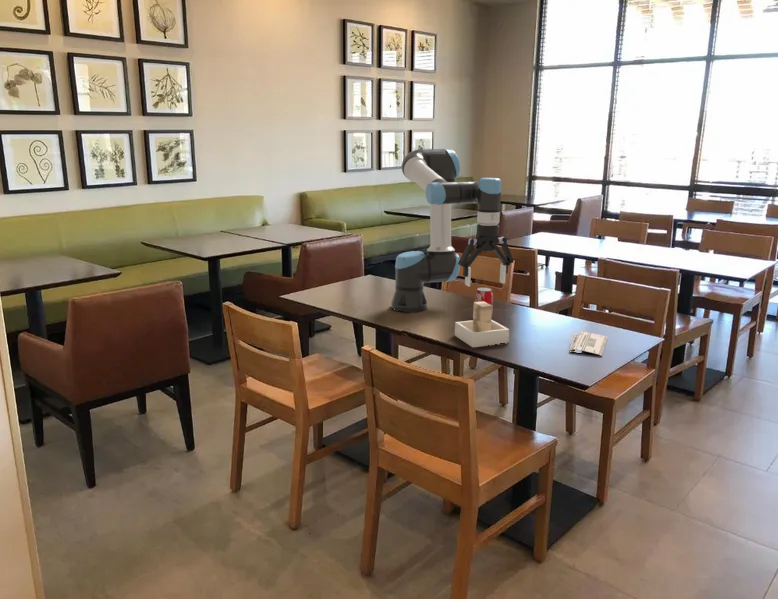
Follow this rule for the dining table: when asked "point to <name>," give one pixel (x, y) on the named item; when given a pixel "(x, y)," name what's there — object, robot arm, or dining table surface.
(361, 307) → the dining table surface
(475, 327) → the light wood block
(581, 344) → the newspaper
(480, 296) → the soda can
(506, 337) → the white slotted box
